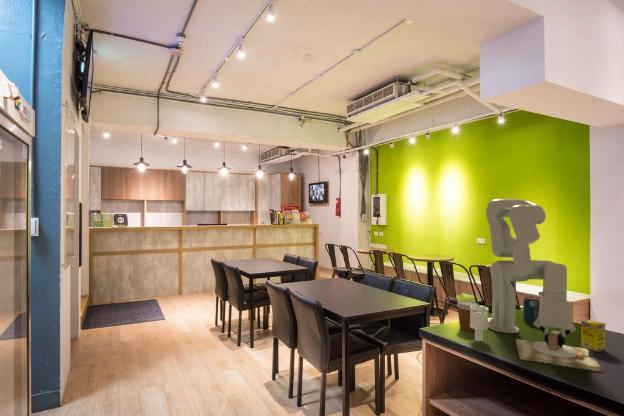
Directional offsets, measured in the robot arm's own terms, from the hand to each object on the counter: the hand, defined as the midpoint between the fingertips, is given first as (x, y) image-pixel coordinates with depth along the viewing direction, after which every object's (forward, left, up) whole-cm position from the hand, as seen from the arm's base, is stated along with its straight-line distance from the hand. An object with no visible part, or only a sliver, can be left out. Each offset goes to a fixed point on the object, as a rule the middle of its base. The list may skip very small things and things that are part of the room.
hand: (554, 345), depth 141 cm
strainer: (-26, +5, -4) cm, 27 cm away
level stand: (0, 0, -4) cm, 4 cm away
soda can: (-3, +48, -4) cm, 48 cm away
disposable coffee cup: (-31, +20, -4) cm, 37 cm away
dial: (+1, 0, -2) cm, 2 cm away
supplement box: (+15, +15, -4) cm, 22 cm away
